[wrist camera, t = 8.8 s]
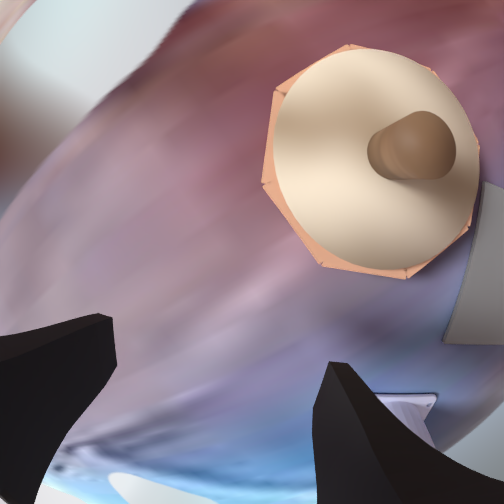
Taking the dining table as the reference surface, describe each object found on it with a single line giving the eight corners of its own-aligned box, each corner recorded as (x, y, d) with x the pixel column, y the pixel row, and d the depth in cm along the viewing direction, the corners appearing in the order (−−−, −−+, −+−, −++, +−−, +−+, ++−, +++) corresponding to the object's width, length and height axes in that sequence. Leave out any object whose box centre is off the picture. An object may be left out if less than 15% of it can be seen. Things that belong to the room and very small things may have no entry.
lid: (461, 271, 13) (509, 301, 9) (267, 258, 14) (258, 292, 10) (468, 81, 11) (514, 58, 6) (277, 43, 12) (271, -8, 7)
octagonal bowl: (431, 273, 17) (456, 290, 13) (254, 244, 18) (246, 258, 14) (454, 100, 14) (481, 88, 10) (280, 55, 15) (278, 29, 11)
